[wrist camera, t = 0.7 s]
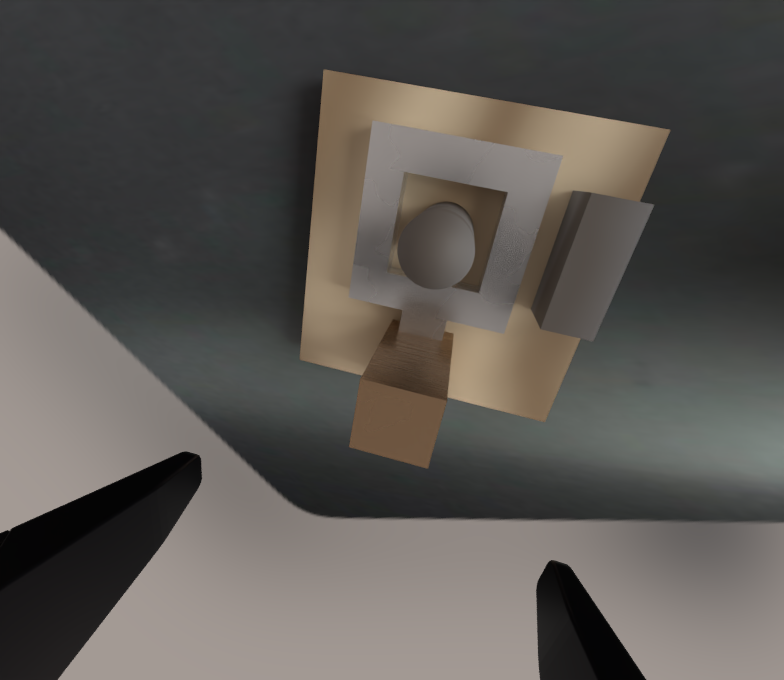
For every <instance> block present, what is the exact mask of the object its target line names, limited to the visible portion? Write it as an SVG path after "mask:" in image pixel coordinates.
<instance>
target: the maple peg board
mask: <svg viewBox="0 0 784 680" xmlns="http://www.w3.org/2000/svg"><path fill="white" fill-rule="evenodd" d="M372 120H373V121H379V122H384V123H389V124H395V125H400V126H406V127H411V128H416V129H422V130H427V131H433V132H438V133H443V134H449V135H454V136H459V137H465V138H470V139H476V140H481V141H486V142H492V143H497V144H502V145H508V146H513V147H519V148H524V149H529V150H535V151H540V152H546V153H551V154H556V155H562V156H563V158H562V161H561V164H560V167H559V170H558V173H557V176H556V179H555V182H554V185H553V188H552V191H551V194H550V197H549V200H548V203H547V206H546V209H545V212H544V215H543V218H542V221H541V224H540V227H539V230H538V233H537V236H536V239H535V242H534V245H533V248H532V251H531V254H530V257H529V260H528V263H527V266H526V269H525V272H524V275H523V278H522V281H521V284H520V287H519V290H518V293H517V296H516V299H515V302H514V305H513V308H512V311H511V314H510V317H509V320H508V323H507V326H506V329H505V332H504V334H502V333H498V332H494V331H489V330H485V329H481V328H477V327H472V326H468V325H464V324H460V323H455V322H451V321H447V323H446V327H445V330H444V331H445V332H449V333H453V334H454V336H453V346H452V356H451V366H450V376H449V386H448V396H447V397H448V398H452V399H456V400H460V401H464V402H468V403H472V404H476V405H480V406H483V407H487V408H491V409H495V410H499V411H503V412H507V413H511V414H515V415H519V416H523V417H527V418H531V419H534V420H538V421H542V422H545V420H546V418H547V416H548V414H549V411H550V409H551V407H552V404H553V402H554V400H555V397H556V395H557V393H558V390H559V388H560V386H561V383H562V381H563V379H564V376H565V374H566V372H567V369H568V367H569V365H570V362H571V360H572V358H573V355H574V353H575V351H576V348H577V346H578V344H579V341H580V339H584V340H589V341H594V339H595V336H596V334H597V332H598V330H599V327H600V325H601V323H602V321H603V319H604V316H605V314H606V312H607V310H608V307H609V305H610V303H611V301H612V298H613V296H614V294H615V292H616V289H617V287H618V285H619V283H620V281H621V278H622V276H623V274H624V272H625V269H626V267H627V265H628V263H629V260H630V258H631V256H632V254H633V252H634V249H635V247H636V245H637V243H638V240H639V238H640V236H641V234H642V231H643V229H644V227H645V225H646V222H647V220H648V218H649V216H650V214H651V211H652V209H653V207H654V205H653V204H648V203H643V202H640V200H641V197H642V195H643V193H644V190H645V188H646V186H647V184H648V181H649V179H650V177H651V174H652V172H653V170H654V167H655V165H656V163H657V160H658V158H659V156H660V153H661V151H662V149H663V146H664V144H665V142H666V139H667V137H668V135H669V132H670V130H668V129H663V128H657V127H651V126H645V125H640V124H634V123H628V122H622V121H617V120H611V119H605V118H599V117H594V116H588V115H582V114H577V113H571V112H565V111H559V110H554V109H548V108H542V107H536V106H531V105H525V104H519V103H513V102H508V101H502V100H496V99H491V98H485V97H479V96H473V95H468V94H462V93H456V92H450V91H445V90H439V89H433V88H427V87H422V86H416V85H410V84H405V83H399V82H393V81H387V80H382V79H376V78H370V77H364V76H359V75H353V74H347V73H341V72H336V71H330V70H324V73H323V85H322V97H321V109H320V121H319V133H318V145H317V157H316V169H315V181H314V193H313V205H312V217H311V229H310V241H309V253H308V265H307V277H306V289H305V301H304V313H303V325H302V337H301V349H300V360H303V361H307V362H311V363H315V364H319V365H323V366H326V367H330V368H334V369H338V370H342V371H346V372H350V373H354V374H358V375H363V373H364V371H365V369H366V367H367V366H368V364H369V362H370V360H371V358H372V356H373V354H374V353H375V351H376V349H377V347H378V345H379V343H380V342H381V340H382V338H383V336H384V334H385V332H386V331H387V329H388V327H389V325H390V323H391V321H392V319H395V320H399V321H401V316H402V311H403V310H400V309H396V308H391V307H387V306H383V305H379V304H374V303H370V302H366V301H362V300H357V299H353V298H349V291H350V283H351V276H352V269H353V261H354V254H355V246H356V239H357V231H358V224H359V217H360V209H361V202H362V194H363V187H364V180H365V172H366V165H367V157H368V150H369V143H370V135H371V128H372ZM504 194H505V192H504V191H499V190H494V189H489V188H484V187H479V186H474V185H469V184H464V183H459V182H454V181H449V180H443V179H438V178H433V177H428V176H423V175H418V174H413V173H408V179H407V184H406V190H405V195H404V201H403V206H402V212H401V218H400V223H399V229H398V234H397V240H396V246H395V251H394V257H393V262H392V267H396V268H401V269H402V270H403V272H404V273H405V275H406V276H407V277H408V278H409V279H410V280H411V281H412V282H414V283H415V284H417V285H419V286H421V287H423V288H427V289H436V290H437V289H444V288H448V287H451V286H453V285H455V284H456V283H458V282H463V283H468V284H472V285H477V286H478V285H479V282H480V278H481V275H482V271H483V268H484V264H485V261H486V257H487V254H488V250H489V247H490V243H491V240H492V236H493V233H494V229H495V226H496V222H497V219H498V215H499V212H500V208H501V205H502V201H503V198H504Z"/></svg>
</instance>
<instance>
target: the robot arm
mask: <svg viewBox="0 0 784 680" xmlns="http://www.w3.org/2000/svg"><path fill="white" fill-rule="evenodd" d="M201 473H202V472H201V458H200V456H199V455H197V454H194V453H190V452H181V453H179V454H177V455H174V456H172V457H170V458H168V459H166V460H163V461H161V462H159V463H157V464H154V465H152V466H150V467H148V468H146V469H143V470H141V471H139V472H136V473H134V474H132V475H130V476H128V477H125V478H123V479H121V480H119V481H116V482H114V483H112V484H110V485H107V486H106V487H103V488H101V489H98V490H96V491H94V492H92V493H90V494H87V495H85V496H83V497H81V498H78V499H76V500H74V501H72V502H70V503H67V504H65V505H63V506H60V507H58V508H56V509H54V510H52V511H49V512H47V513H45V514H43V515H40V516H38V517H36V518H34V519H31V520H29V521H27V522H25V523H22V524H20V525H18V526H16V527H14V528H12V529H11V530H10V531H8V530H7V531H4V532H2V533H0V680H58V678H59V677H60V676H61V674H62V673H63V672H64V670H65V669H66V668H67V667H68V665H69V664H70V662H72V660H73V659H74V657H75V656H76V655H77V654H78V652H79V651H80V650H81V649H82V647H83V646H84V645H85V643H86V642H87V641H88V640H89V638H90V637H91V636H92V634H93V633H94V632H95V631H96V629H97V628H98V627H99V625H100V624H101V623H102V622H103V620H104V619H105V618H106V616H107V615H108V614H109V612H110V611H111V610H112V609H113V607H114V606H115V605H116V603H117V602H118V601H119V600H120V598H121V597H122V596H123V594H124V593H125V592H126V590H127V589H128V588H129V587H130V585H131V584H132V583H133V581H134V580H135V579H136V578H137V576H138V575H139V574H140V573H141V571H142V570H143V569H144V567H145V566H146V565H147V563H148V562H149V561H150V560H151V558H152V557H153V555H154V554H155V553H156V552H157V551H158V549H159V548H160V546H161V545H162V544H163V542H164V541H165V539H166V538H167V536H168V535H169V533H170V531H171V530H172V528H173V527H174V526H175V524H176V522H177V521H178V519H179V518H180V516H181V514H182V513H183V511H184V509H185V508H186V507H187V505H188V504H189V502H190V500H191V499H192V497H193V496H194V494H195V493H196V491H197V489H198V488H199V486H200V483H201V480H202V474H201ZM536 595H537V596H536V597H537V632H538V660H539V673H540V680H646V679H645V677H644V676H643V674H642V673H641V671H640V670H639V668H638V667H637V665H636V664H635V662H634V661H633V659H632V658H631V656H630V655H629V653H628V652H627V650H626V649H625V647H624V646H623V644H622V643H621V642H620V640H619V639H618V637H617V636H616V634H615V633H614V631H613V630H612V628H611V627H610V625H609V624H608V622H607V621H606V619H605V618H604V616H603V615H602V613H601V612H600V610H599V609H598V608H597V606H596V604H595V603H594V602H593V600H592V598H591V597H590V596H589V594H588V593H587V591H586V590H585V588H584V587H583V585H582V584H581V582H580V581H579V579H578V578H577V576H576V575H575V573H574V572H573V570H572V569H571V568H570V567H569V566H568V565H567V564H564V563H561V562H557V561H554V560H551V561H549V562H548V564H547V565H546V567H545V569H544V571H543V573H542V574H541V576H540V578H539V580H538V583H537V589H536Z"/></svg>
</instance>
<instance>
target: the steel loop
mask: <svg viewBox="0 0 784 680" xmlns="http://www.w3.org/2000/svg"><path fill="white" fill-rule="evenodd" d="M562 158H563V156H562V155H556V154H551V153H546V152H540V151H535V150H529V149H524V148H519V147H513V146H508V145H502V144H497V143H492V142H486V141H481V140H476V139H470V138H465V137H459V136H454V135H449V134H443V133H438V132H433V131H427V130H422V129H416V128H411V127H406V126H400V125H395V124H389V123H384V122H379V121H373V120H372V128H371V135H370V143H369V150H368V157H367V165H366V172H365V180H364V187H363V194H362V202H361V209H360V217H359V224H358V231H357V239H356V246H355V254H354V261H353V269H352V276H351V283H350V291H349V298H353V299H357V300H362V301H366V302H370V303H374V304H379V305H383V306H387V307H391V308H396V309H400V310H403V311H402V316H401V321H399V320H395V319H392V321H391V323H390V325H389V327H388V329H387V331H386V332H385V334H384V336H383V338H382V340H381V342H380V343H379V345H378V347H377V349H376V351H375V353H374V354H373V356H372V358H371V360H370V362H369V364H368V366H367V367H366V369H365V371H364V373H363V375H362V377H361V378H360V384H359V390H358V396H357V402H356V408H355V414H354V420H353V426H352V432H351V438H350V444H349V447H351V448H355V449H358V450H362V451H366V452H369V453H373V454H376V455H380V456H384V457H387V458H391V459H395V460H398V461H402V462H406V463H409V464H413V465H416V466H420V467H424V468H427V469H428V466H429V462H430V459H431V455H432V452H433V448H434V445H435V441H436V438H437V434H438V431H439V427H440V424H441V420H442V417H443V413H444V410H445V406H446V403H447V396H448V386H449V376H450V366H451V356H452V346H453V336H454V334H453V333H449V332H445V331H444V330H445V327H446V323H447V321H451V322H455V323H460V324H464V325H468V326H472V327H477V328H481V329H485V330H489V331H494V332H498V333H502V334H504V332H505V329H506V326H507V323H508V320H509V317H510V314H511V311H512V308H513V305H514V302H515V299H516V296H517V293H518V290H519V287H520V284H521V281H522V278H523V275H524V272H525V269H526V266H527V263H528V260H529V257H530V254H531V251H532V248H533V245H534V242H535V239H536V236H537V233H538V230H539V227H540V224H541V221H542V218H543V215H544V212H545V209H546V206H547V203H548V200H549V197H550V194H551V191H552V188H553V185H554V182H555V179H556V176H557V173H558V170H559V167H560V164H561V161H562ZM408 173H413V174H418V175H423V176H428V177H433V178H438V179H443V180H449V181H454V182H459V183H464V184H469V185H474V186H479V187H484V188H489V189H494V190H499V191H504V192H505V194H504V198H503V201H502V205H501V208H500V212H499V215H498V219H497V222H496V226H495V229H494V233H493V236H492V240H491V243H490V247H489V250H488V254H487V257H486V261H485V264H484V268H483V271H482V275H481V278H480V282H479V285H478V286H477V285H472V284H468V283H463V282H458V283H456V284H455V285H453V286H451V287H448V288H444V289H437V290H436V289H427V288H423V287H421V286H419V285H417V284H415V283H414V282H412V281H411V280H410V279H409V278H408V277H407V276H406V275H405V273H404V272H403V270H402V269H401V268H396V267H392V262H393V257H394V251H395V246H396V240H397V234H398V229H399V223H400V218H401V212H402V206H403V201H404V195H405V190H406V184H407V179H408Z"/></svg>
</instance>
